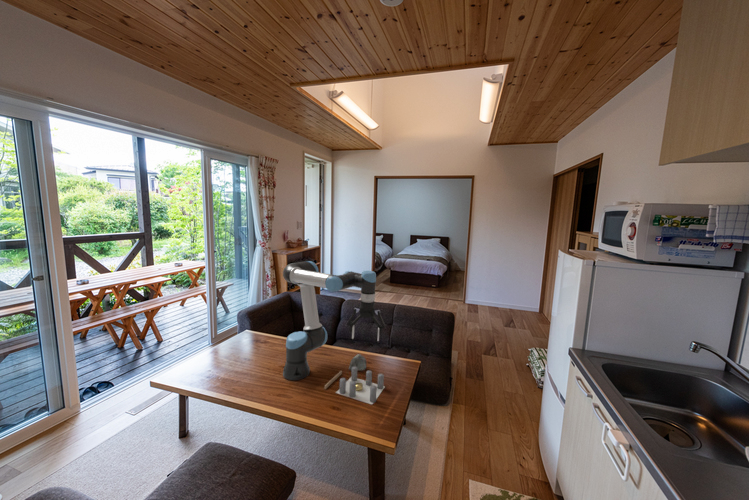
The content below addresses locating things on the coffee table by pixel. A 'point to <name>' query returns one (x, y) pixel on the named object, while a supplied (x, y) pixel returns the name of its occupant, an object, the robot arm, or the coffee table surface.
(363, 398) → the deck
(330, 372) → the coffee table surface
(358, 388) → the brass dome
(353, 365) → the stone
